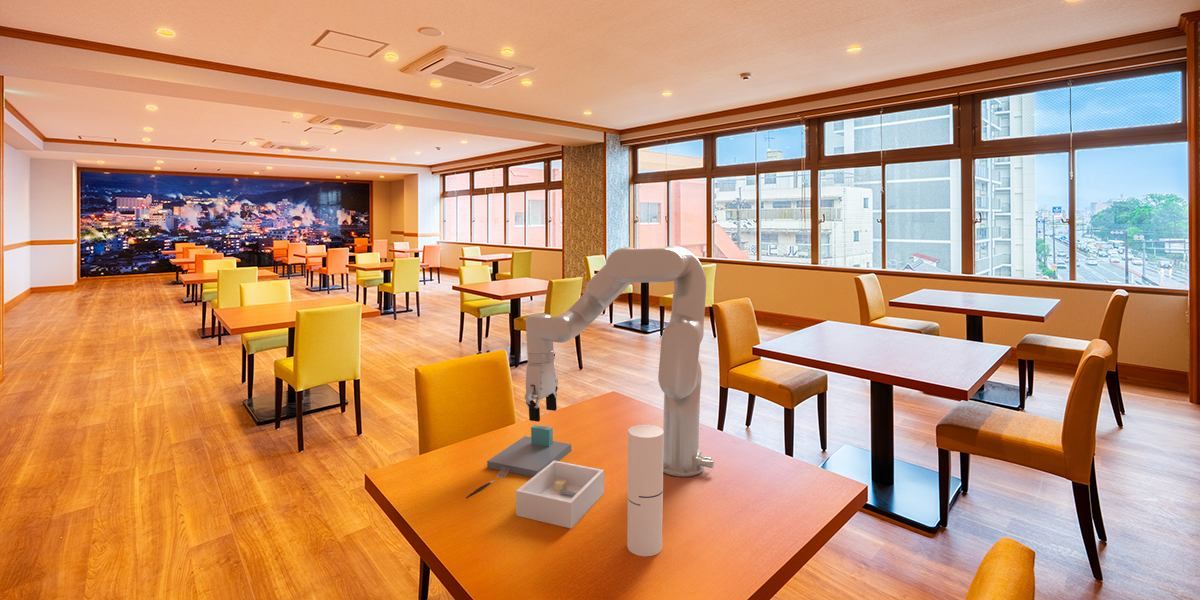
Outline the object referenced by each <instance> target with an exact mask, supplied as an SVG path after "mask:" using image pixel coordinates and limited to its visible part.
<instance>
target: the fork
mask: <svg viewBox="0 0 1200 600" xmlns="http://www.w3.org/2000/svg"><path fill="white" fill-rule="evenodd" d="M502 468H503V467H502ZM504 469H505V468H504ZM504 469H503V471H501V470H502V469H501V470H499V471H498V472H497V475H496V477H498V478H501V479H505V477H506V476H507V474H508V473H509V472H508V471H509V469H508V471H507V472H506V470H507V469H506V470H505V471H504ZM494 482H495V480H493V479H492V480H491V481H489V482H487V483H485V484H483V485H481V486H479V487H477V488H476V489H475V490H474V491H472V492H470V494H469V495H467V496H466V497H465V499H468V498H470V497H472V496H473V495H475V494H477V493H479V492H481V491H483V490H484V489H486V488H487V487H488V486H489V485H491V484H492V483H494Z"/></svg>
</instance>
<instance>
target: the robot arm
mask: <svg viewBox="0 0 1200 600" xmlns="http://www.w3.org/2000/svg"><path fill="white" fill-rule="evenodd" d="M706 277H707V276H706V273H705V270H704V267H703V264H702V263H701V261H700V260H699V259H698V258H697V256H696V255H695V254H693V253H692V252H691V251H689V250H688V249H686V248H684V247H683V246H679V245H668V246H665V247H656V248H636V247H631V246H626V247H622V248H618V249H615V250H614V251H613V252H611V253H610V255H608V257H607V259H606V263H605V265H603V267H602V268H600V269H599V271H598V272H596V274H595V275H593V276H592V277H591V278H590V280H588V281H587V282H586V286H585V290H584V291H583V293H582V295H581V296H580V297H579V298H578V299H577V301H576V302H574V304H573V305H572V306H571V307H570V308H568V310H566V311H565V312H563V313H560V314H558V315H556V316H552V315H551V314H548V313H540V312H539V313H532V314H528V316H526V318H525V333H526V355H527V365H526V371H525V372H526V373H525V395H524V399H525V404H526V405H527V408H528V417H529V419H528V420H529V421H531V422H540V421H541V412H540V411H541V410H540V409H541V408H540V405H539V404H540V402H541V400H543V399H545V408H546V410H547V411H554V412H555V411H557V407H558V406H557V396H558V393H557V391H558V389H559V388H558V385H559V384H558V383H559V379H558V378H556V367H555V351H554V349H555V347H554V346H555V345H554V343H558V344H559V343H560V344H563V343H567V342H569V341H571V340H572V339H574V338H576V337H577V336H579V335H580V334H581V333H582V332H584V331H585V330H586V329H587V328H588V327H589V326H591V324H592V323H593V322H594V321H595V320H596V319H597V318H598V317H599V316H600V315H601V314H602V313H603V312H604V311H605V310H606V309H608V307H609V306H610V305H611V304H612V303H613V302H614V301H615V300H616V299H617V298H618V297H619V296H620V295H621V294H622V293H623V292H624V291H625V290H626V289H627V288H629V286H631V284H632V283H637V284H639V283H668V282H669V283H670V282H673V292H672V299H671V300H672V301H671V302H672V304H671V314H670V319H669V322H668V324H666V326H665V327H664V329H663V332H662V336H661V342H660V343H661V344H660V352H659V364H658V376H657V377H658V385H659V387H660V390H661V391H662V392H663V394H664V395H663V427H662V429H663V431H664V446H663V474H667V475H670V476H673V477H682V478H683V477H684V478H685V477H694V476H697V475H700V474H701V473H702V472H703V471H704V469H705V468H708V469H714V467H715V461H714V460H713V459H712V457H710V456H709V457H708V456H703V454H702V450H701V449H699V447H700V445H699V443H700V441H699V440H700V412H701V411H700V409H701V408H700V406H701V387H702V373H703V372H702V366H701V364H700V361H699V358H700V357H699V356H700V348H701V347H700V346H701V343H702V341H703V339H704V327H705V326H704V323H705V322H704V321H705V312H706V297H707V278H706Z"/></svg>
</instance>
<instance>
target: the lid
mask: <svg viewBox="0 0 1200 600" xmlns="http://www.w3.org/2000/svg"><path fill="white" fill-rule="evenodd" d="M553 434H554V430H553V427H550V426H543V425H537V424H534V425H532V426H531V427H530V436H527V435H524V436H523V437H521V438H520V439H518V440H517V441H515V442H514V443H512V444H511V445H509V446H507V447H506V448H504V449H503V450H502V451H500V452H498V453H497V454H496V455H494V456H493V457H491V458H489V459H488V460H486V468H487V469H492V470H497V471H500V470H501V469H502V470H501V472H502V471H503V469H504V468H505V469H504V471H503V472H505V470H506V469H507V470H506V472H507V471H508V469H509V471H508V472H507V473H510V474H514V475H519V476H523V477H529V478H532V477H534V476H535V475H536V474H537V473H539V472H540V471H541V470H542V469H544V468H545V467H546V466H547V465H549V464H550V463H551V462H552V461H559V462H560V460H562V459H563V458H564V457H566V456H567V455H568V454H569V453H571V452H572V444H571V443H566V442H562V441H557V440H556V441H555V440H553ZM566 454H567V455H566ZM502 467H503V468H502ZM506 472H505V473H506Z"/></svg>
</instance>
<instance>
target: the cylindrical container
mask: <svg viewBox="0 0 1200 600" xmlns="http://www.w3.org/2000/svg"><path fill="white" fill-rule="evenodd" d="M663 446H664V431H663V427H662V428H661V427H660V426H657V425H653V424H636V425H633V426H630V427H629V428H628V429H627V537H626V539H627V545H626V546H627V550H628V551H629V552H630V553H632V554H633V555H636V556H639V557H653V556H655V555H658V554H659V553H661V551H662V550H663V513H664V512H663V508H664V507H663V505H664V503H663V501H664V500H663V499H664V498H663V497H664V495H663V494H664V472H663Z"/></svg>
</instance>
